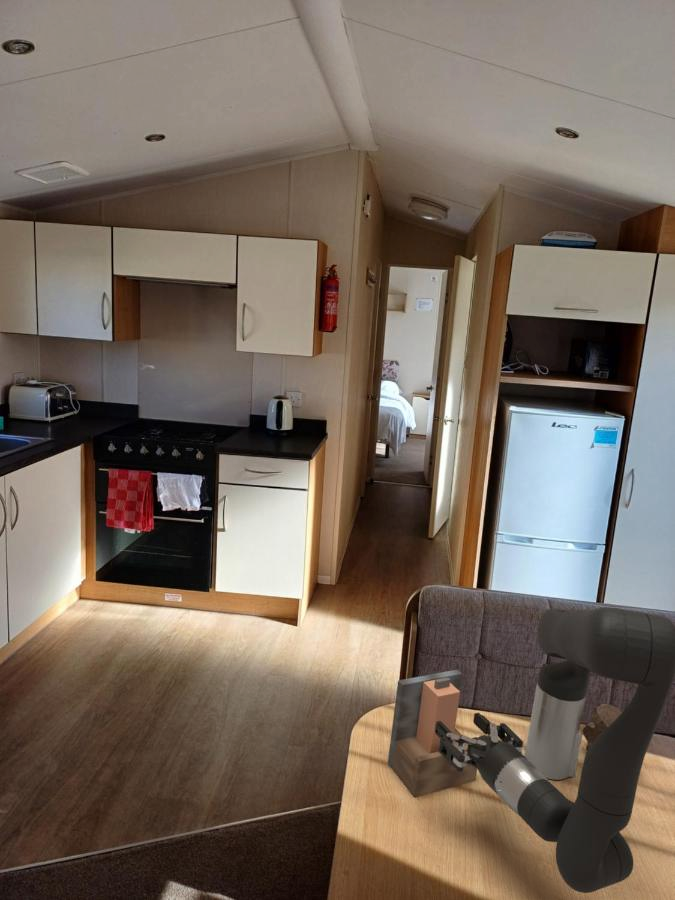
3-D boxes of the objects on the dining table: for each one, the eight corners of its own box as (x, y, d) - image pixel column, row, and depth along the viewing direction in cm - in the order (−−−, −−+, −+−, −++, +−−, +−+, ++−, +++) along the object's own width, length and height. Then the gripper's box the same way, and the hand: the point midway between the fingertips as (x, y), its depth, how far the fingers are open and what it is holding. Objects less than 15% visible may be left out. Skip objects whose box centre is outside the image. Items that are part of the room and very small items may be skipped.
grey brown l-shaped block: (446, 748, 135) (457, 669, 131) (475, 780, 126) (488, 696, 122) (387, 763, 128) (398, 680, 125) (414, 797, 120) (426, 709, 116)
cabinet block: (437, 732, 130) (445, 670, 127) (451, 748, 125) (461, 684, 123) (416, 737, 127) (424, 675, 125) (430, 753, 123) (439, 689, 120)
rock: (654, 759, 130) (624, 738, 127) (614, 787, 133) (584, 767, 129) (623, 709, 141) (596, 689, 138) (587, 737, 144) (559, 717, 140)
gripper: (552, 750, 108) (490, 696, 122) (483, 768, 102) (426, 709, 116) (545, 789, 109) (484, 731, 124) (476, 810, 103) (421, 747, 117)
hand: (456, 721), depth 120 cm, fingers open, 8 cm apart
